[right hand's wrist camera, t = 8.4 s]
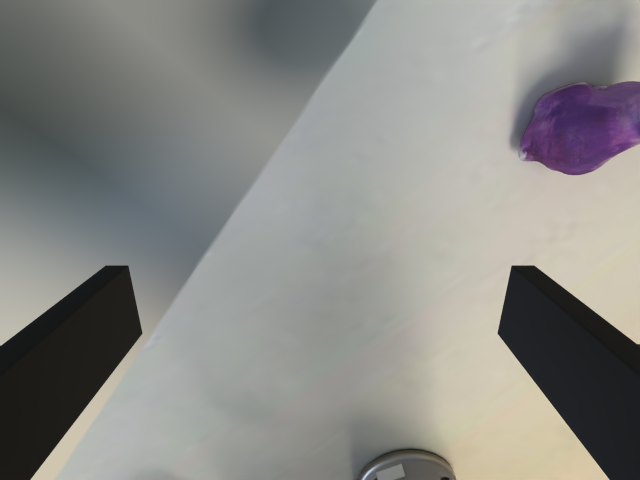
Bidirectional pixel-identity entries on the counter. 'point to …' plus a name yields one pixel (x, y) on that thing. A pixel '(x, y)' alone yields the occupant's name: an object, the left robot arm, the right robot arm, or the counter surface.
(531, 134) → the figurine
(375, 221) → the counter surface
